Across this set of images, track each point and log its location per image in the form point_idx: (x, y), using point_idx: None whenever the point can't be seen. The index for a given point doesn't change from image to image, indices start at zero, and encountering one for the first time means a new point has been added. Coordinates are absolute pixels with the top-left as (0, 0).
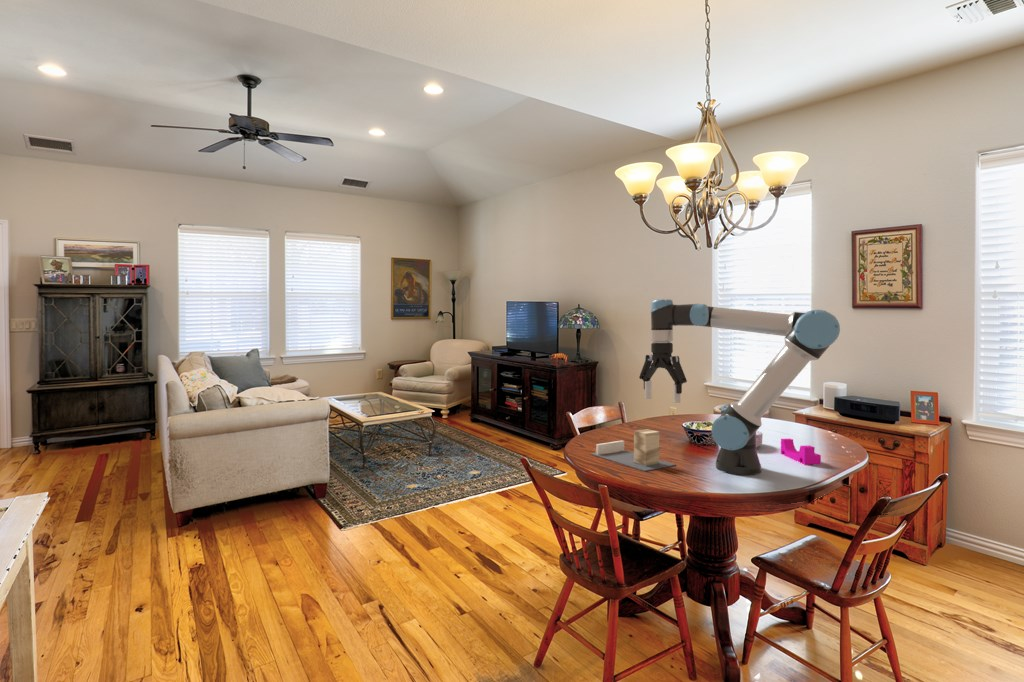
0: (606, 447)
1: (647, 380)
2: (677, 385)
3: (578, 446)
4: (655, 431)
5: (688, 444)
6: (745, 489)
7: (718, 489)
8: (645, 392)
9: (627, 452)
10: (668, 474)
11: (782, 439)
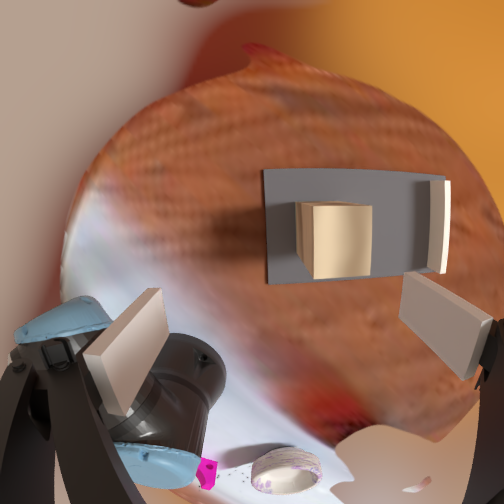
0: (439, 209)
1: (487, 353)
2: (81, 363)
3: (490, 208)
4: (324, 269)
5: (371, 417)
6: (78, 265)
7: (92, 220)
8: (433, 285)
9: (412, 261)
10: (215, 205)
11: (210, 483)
